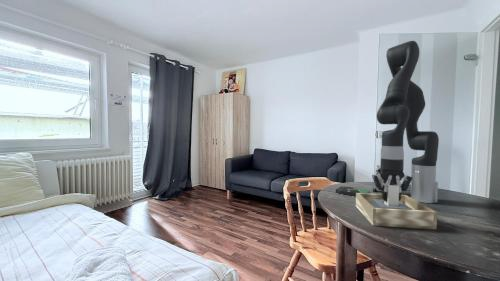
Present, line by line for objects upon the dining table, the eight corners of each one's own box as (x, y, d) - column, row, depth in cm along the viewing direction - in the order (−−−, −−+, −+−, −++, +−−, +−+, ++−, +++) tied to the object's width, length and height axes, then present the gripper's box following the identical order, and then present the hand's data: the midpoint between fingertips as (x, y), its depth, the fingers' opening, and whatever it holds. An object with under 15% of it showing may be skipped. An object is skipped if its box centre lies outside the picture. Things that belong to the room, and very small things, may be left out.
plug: (393, 208, 86) (394, 175, 86) (398, 211, 83) (399, 177, 82) (384, 207, 87) (384, 175, 86) (388, 210, 83) (388, 177, 83)
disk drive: (335, 194, 117) (365, 199, 107) (335, 189, 117) (365, 194, 107) (341, 190, 125) (370, 194, 115) (341, 185, 125) (370, 189, 115)
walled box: (405, 208, 93) (405, 195, 93) (436, 229, 73) (437, 212, 73) (355, 206, 97) (356, 193, 96) (372, 225, 77) (373, 208, 77)
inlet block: (398, 210, 89) (398, 200, 89) (411, 219, 79) (412, 209, 79) (372, 208, 91) (372, 199, 91) (382, 217, 81) (382, 207, 81)
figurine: (370, 194, 115) (370, 166, 115) (374, 189, 124) (375, 163, 123) (390, 197, 109) (391, 167, 109) (393, 192, 118) (394, 165, 118)
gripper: (407, 156, 87) (406, 199, 87) (368, 156, 89) (368, 197, 90) (417, 159, 79) (416, 205, 80) (375, 158, 82) (375, 203, 82)
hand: (391, 200), depth 85 cm, fingers closed on plug, 3 cm apart
